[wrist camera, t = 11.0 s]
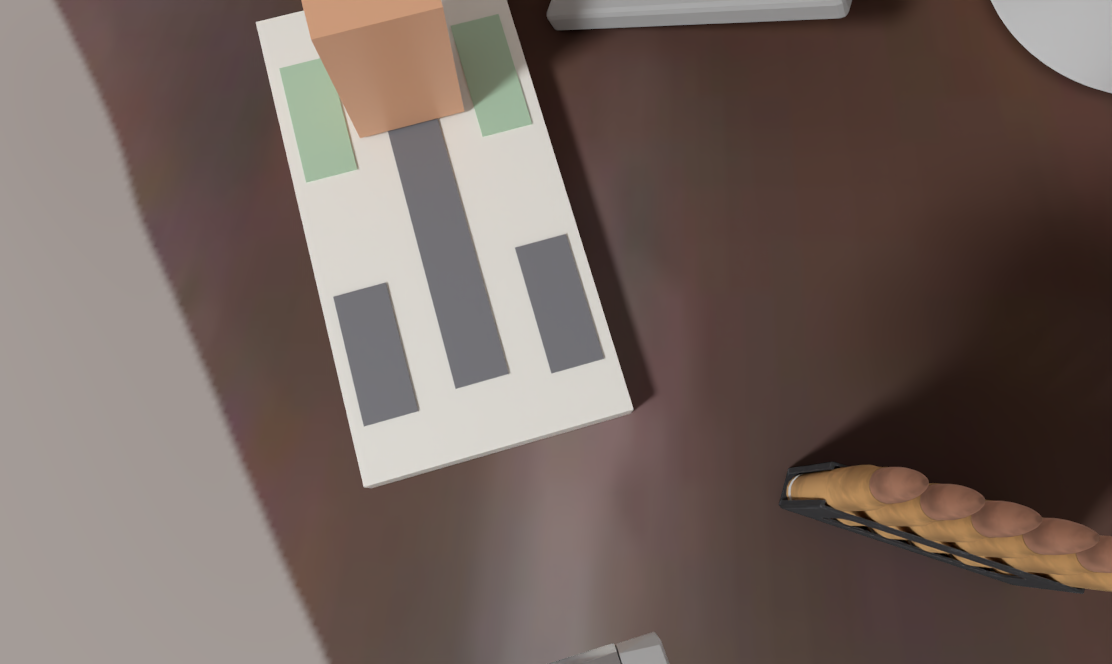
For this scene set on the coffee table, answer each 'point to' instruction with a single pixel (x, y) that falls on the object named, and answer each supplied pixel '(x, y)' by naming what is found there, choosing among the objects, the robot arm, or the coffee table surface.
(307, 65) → the switch board
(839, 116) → the coffee table surface
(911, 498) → the ammunition clip
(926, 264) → the coffee table surface
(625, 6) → the light switch
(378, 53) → the tan rectangular block
